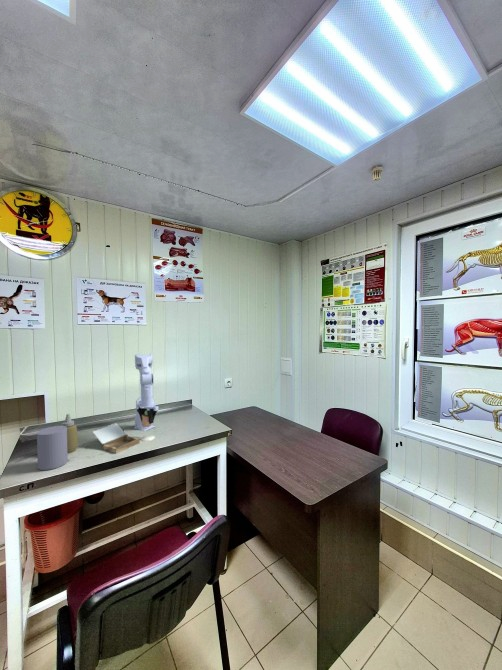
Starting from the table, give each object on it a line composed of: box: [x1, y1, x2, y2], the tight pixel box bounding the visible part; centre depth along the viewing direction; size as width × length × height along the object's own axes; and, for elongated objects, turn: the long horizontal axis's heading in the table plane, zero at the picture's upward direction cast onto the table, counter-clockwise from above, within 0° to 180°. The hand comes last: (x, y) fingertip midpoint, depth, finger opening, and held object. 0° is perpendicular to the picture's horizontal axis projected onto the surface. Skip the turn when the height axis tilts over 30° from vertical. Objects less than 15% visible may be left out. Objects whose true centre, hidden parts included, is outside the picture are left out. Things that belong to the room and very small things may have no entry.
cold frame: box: [102, 428, 141, 454], centre depth 132 cm, size 14×14×5 cm
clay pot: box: [142, 410, 151, 427], centre depth 140 cm, size 5×5×8 cm
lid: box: [91, 422, 127, 446], centre depth 135 cm, size 10×13×1 cm
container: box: [36, 425, 69, 471], centre depth 114 cm, size 10×10×15 cm
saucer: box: [140, 434, 156, 442], centre depth 140 cm, size 7×7×1 cm
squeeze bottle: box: [61, 413, 80, 454], centre depth 126 cm, size 8×8×18 cm
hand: (147, 422), depth 140 cm, fingers closed on clay pot, 5 cm apart
